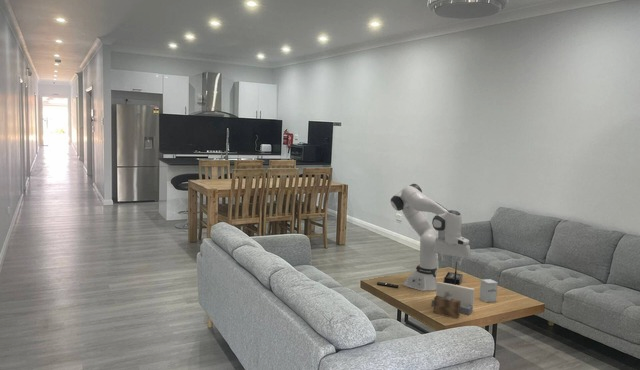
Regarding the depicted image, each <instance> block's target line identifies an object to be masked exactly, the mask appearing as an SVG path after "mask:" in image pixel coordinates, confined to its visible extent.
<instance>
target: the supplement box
mask: <svg viewBox="0 0 640 370" xmlns="http://www.w3.org/2000/svg"><path fill="white" fill-rule="evenodd" d="M498 284H499V283H498V281H495V280H493V279H490V278H489V279H487V278H485V279H481V280H480V289H479V299H480V300H481V301H483V302H485V303H496V302H497V295H498Z"/></svg>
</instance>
